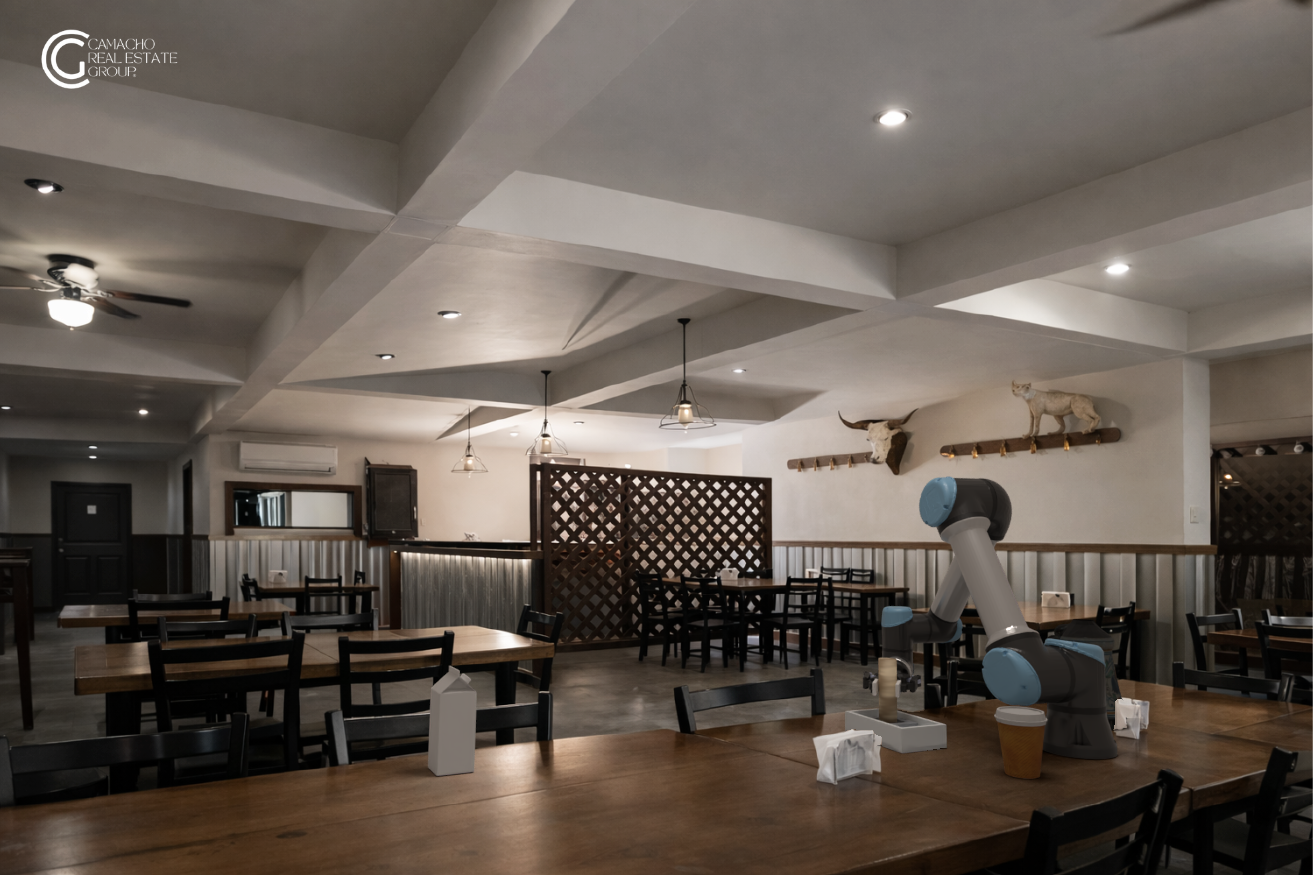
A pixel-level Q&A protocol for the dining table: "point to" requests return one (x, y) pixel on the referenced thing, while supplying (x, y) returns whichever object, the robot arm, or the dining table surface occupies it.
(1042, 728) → the disposable coffee cup
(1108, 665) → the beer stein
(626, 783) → the dining table surface
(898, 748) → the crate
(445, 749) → the milk carton
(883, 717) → the dowel
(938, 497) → the robot arm
